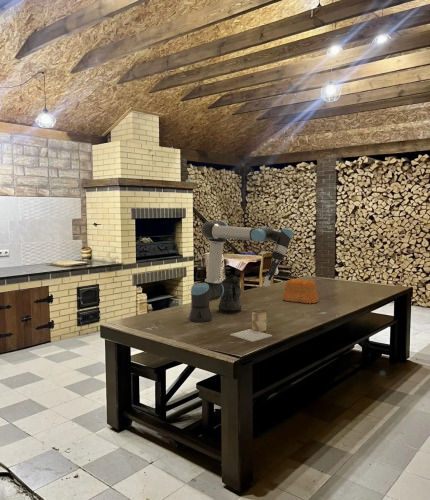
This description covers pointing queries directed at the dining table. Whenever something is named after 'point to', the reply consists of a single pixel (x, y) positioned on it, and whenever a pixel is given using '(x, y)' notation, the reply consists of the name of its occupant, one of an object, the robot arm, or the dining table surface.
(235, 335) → the felt mat
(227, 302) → the beer stein
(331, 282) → the dining table surface
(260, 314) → the oak block
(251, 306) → the dining table surface
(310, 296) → the bread
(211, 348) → the dining table surface
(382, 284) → the dining table surface
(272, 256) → the robot arm
